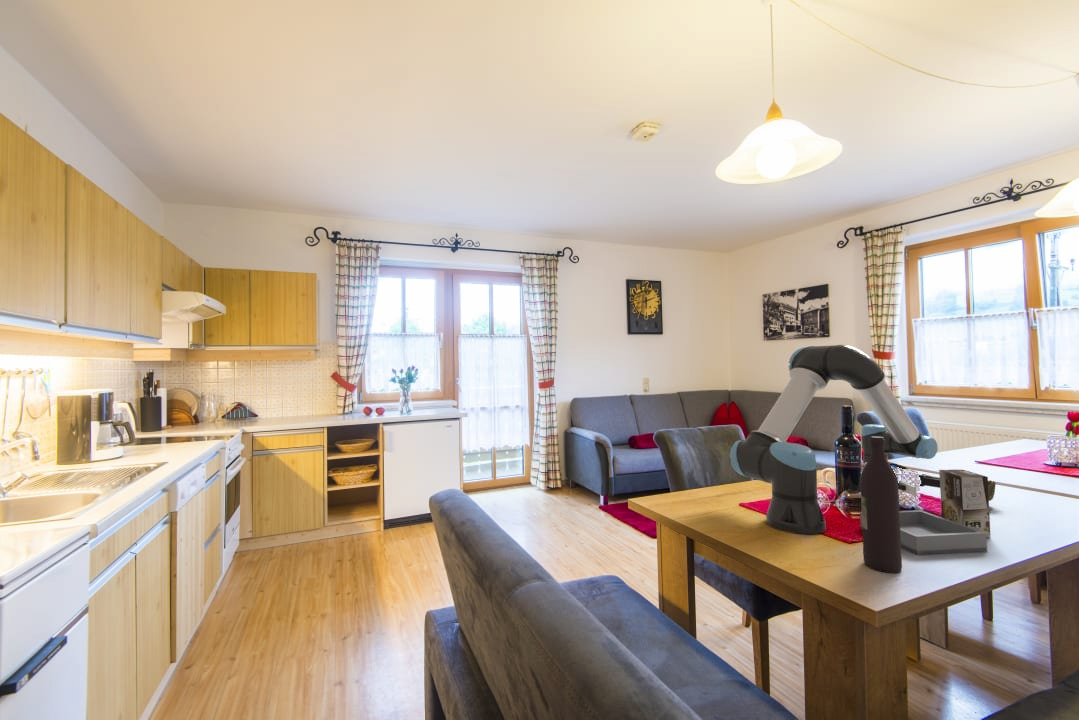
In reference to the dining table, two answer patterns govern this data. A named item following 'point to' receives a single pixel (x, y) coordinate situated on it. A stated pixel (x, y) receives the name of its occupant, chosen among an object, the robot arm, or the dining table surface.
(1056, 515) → the dining table surface
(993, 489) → the cup
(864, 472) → the wine bottle
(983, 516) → the coffee box
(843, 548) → the dining table surface
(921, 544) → the tray
